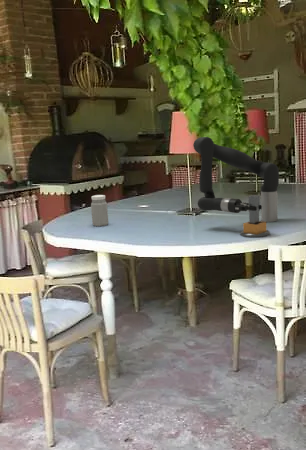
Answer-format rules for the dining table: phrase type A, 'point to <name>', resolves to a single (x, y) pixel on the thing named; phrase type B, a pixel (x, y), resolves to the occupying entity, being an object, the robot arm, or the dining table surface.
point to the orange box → (254, 230)
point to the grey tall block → (254, 215)
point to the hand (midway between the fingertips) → (258, 207)
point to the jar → (99, 210)
